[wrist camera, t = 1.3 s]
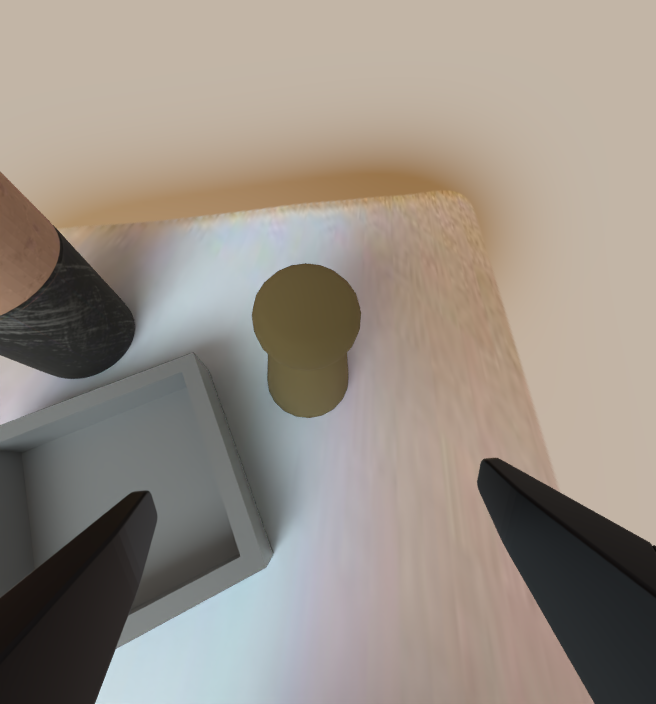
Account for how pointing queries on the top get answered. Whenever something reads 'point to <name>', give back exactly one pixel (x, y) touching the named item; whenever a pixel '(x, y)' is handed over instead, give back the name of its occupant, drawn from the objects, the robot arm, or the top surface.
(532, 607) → the top surface
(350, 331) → the cork
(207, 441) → the gray square tray
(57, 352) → the travel mug
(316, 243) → the top surface
